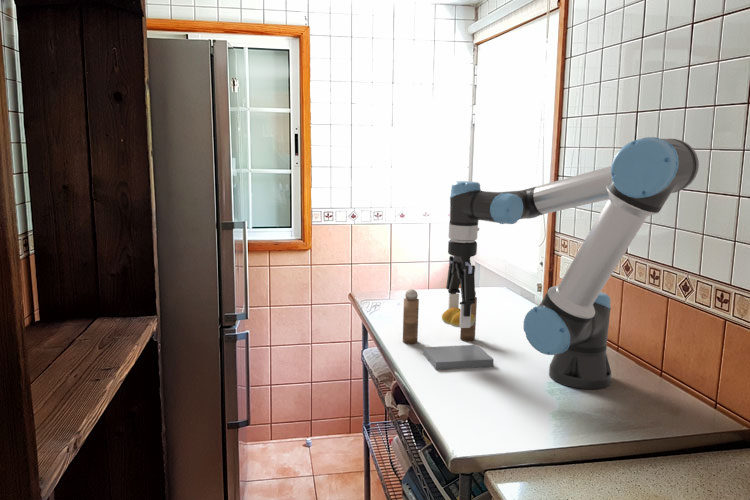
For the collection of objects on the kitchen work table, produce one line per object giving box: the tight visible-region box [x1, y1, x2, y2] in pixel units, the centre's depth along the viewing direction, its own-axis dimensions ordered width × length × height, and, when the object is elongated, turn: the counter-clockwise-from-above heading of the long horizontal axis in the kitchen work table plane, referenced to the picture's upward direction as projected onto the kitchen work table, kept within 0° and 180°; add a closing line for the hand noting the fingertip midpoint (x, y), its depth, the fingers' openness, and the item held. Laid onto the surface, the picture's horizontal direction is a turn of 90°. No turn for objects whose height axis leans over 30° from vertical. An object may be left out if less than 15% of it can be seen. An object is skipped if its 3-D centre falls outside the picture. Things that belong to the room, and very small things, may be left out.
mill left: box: [402, 288, 420, 345], centre depth 183 cm, size 4×4×16 cm
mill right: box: [459, 291, 478, 342], centre depth 186 cm, size 4×4×16 cm
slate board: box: [422, 344, 494, 371], centre depth 170 cm, size 12×16×2 cm
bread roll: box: [441, 308, 475, 328], centre depth 168 cm, size 8×9×4 cm
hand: (458, 321), depth 168 cm, fingers closed on bread roll, 9 cm apart
